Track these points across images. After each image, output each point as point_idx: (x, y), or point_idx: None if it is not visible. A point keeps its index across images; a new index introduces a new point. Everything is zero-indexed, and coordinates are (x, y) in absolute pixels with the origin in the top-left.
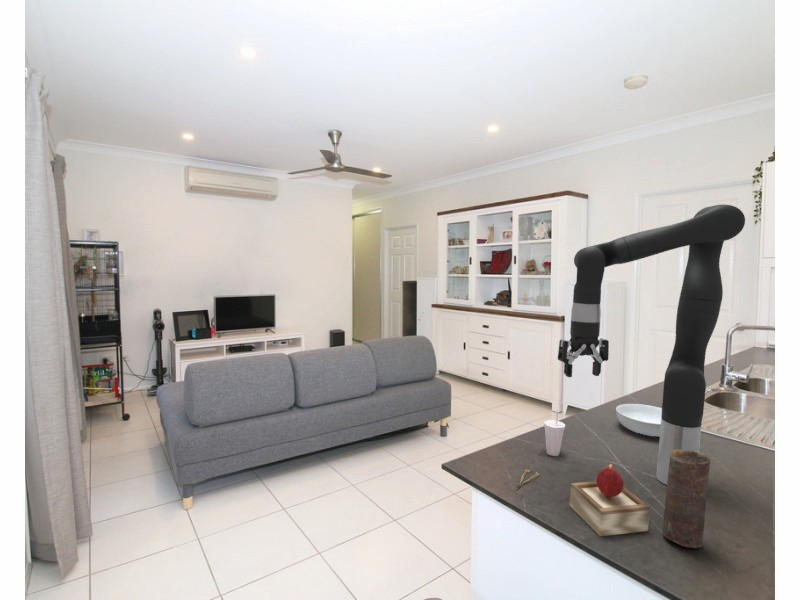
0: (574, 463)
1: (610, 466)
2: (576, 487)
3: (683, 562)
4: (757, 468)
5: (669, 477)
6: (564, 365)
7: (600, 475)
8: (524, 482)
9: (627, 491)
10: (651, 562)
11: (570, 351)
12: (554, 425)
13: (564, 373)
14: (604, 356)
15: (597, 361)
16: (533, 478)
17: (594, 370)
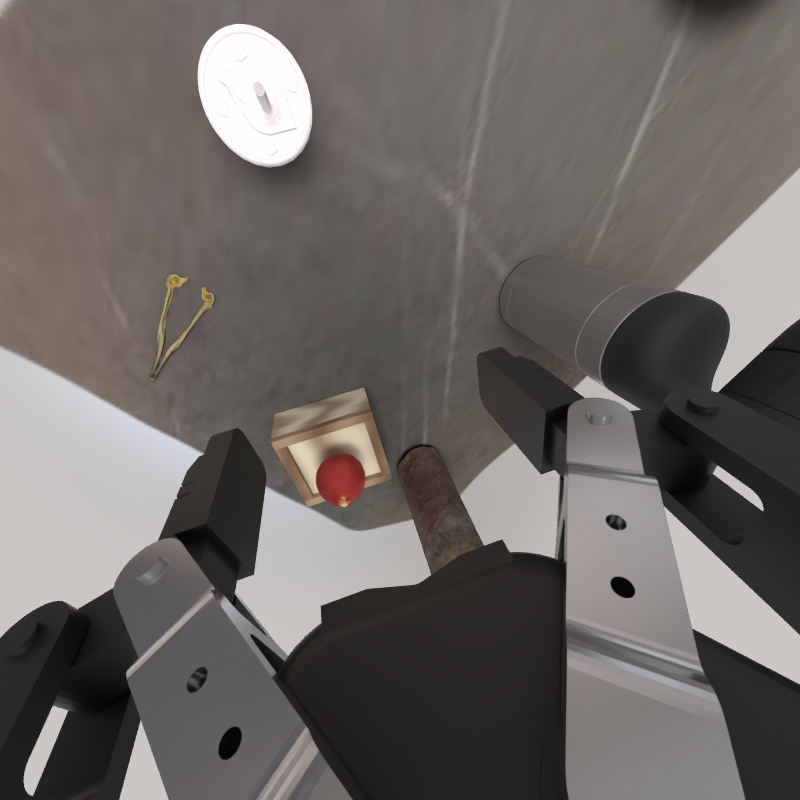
0: (331, 213)
1: (342, 506)
2: (279, 454)
3: (395, 493)
4: (743, 212)
5: (423, 542)
6: (164, 535)
7: (321, 494)
8: (170, 353)
9: (377, 447)
10: (357, 502)
11: (189, 709)
12: (254, 128)
13: (197, 464)
14: (671, 511)
15: (559, 474)
16: (195, 322)
17: (498, 391)
